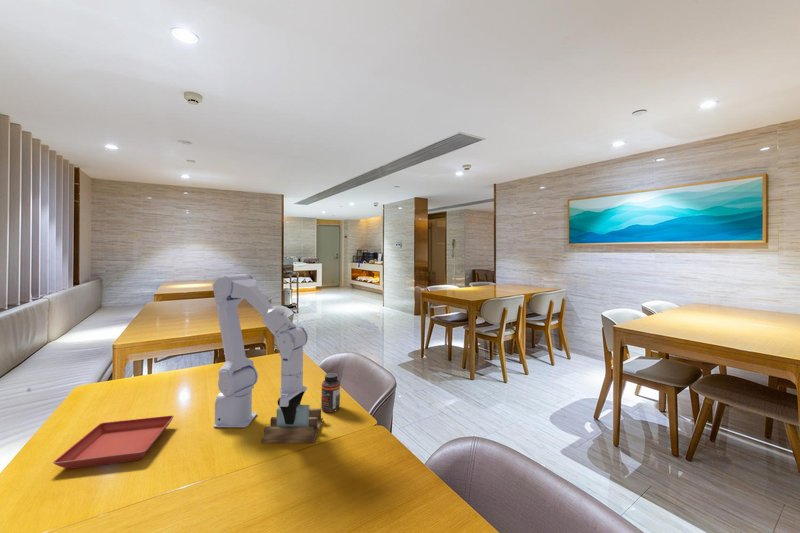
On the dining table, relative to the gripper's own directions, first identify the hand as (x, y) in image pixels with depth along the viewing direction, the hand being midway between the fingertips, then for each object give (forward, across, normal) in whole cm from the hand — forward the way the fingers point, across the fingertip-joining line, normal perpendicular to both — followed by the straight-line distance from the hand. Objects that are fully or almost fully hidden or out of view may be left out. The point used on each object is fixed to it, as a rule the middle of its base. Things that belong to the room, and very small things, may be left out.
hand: (291, 420), depth 91 cm
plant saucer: (+5, -5, +42) cm, 43 cm away
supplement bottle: (+5, +16, -8) cm, 19 cm away
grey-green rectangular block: (+3, 0, 0) cm, 3 cm away
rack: (+4, +3, 0) cm, 5 cm away
